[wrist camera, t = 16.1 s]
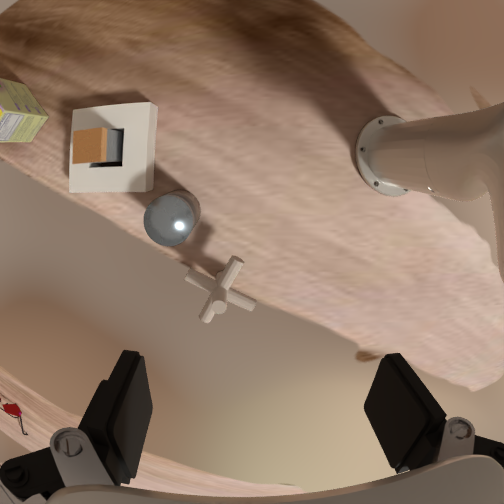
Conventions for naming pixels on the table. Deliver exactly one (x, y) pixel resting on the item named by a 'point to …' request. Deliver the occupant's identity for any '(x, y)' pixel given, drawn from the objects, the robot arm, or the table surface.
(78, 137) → the square bit
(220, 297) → the pipe connector
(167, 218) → the cylinder
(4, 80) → the box
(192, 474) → the table surface
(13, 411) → the glasses
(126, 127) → the holder block
